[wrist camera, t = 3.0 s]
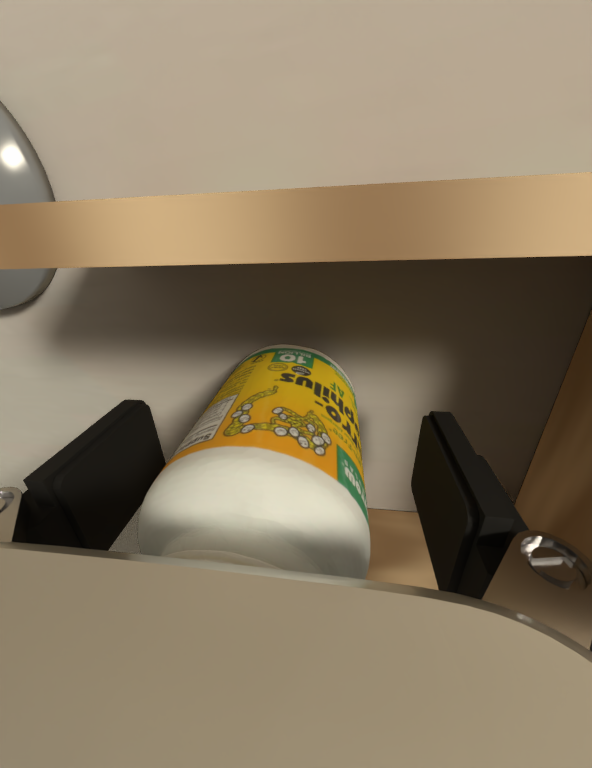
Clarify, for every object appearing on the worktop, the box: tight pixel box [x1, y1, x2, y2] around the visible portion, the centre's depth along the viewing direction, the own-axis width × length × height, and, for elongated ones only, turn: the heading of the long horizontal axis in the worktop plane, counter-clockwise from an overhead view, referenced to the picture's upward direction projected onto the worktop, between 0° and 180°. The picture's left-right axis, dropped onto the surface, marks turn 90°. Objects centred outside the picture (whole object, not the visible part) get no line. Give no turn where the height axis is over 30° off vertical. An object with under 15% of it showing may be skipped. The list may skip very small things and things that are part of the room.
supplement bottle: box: [138, 344, 370, 580], centre depth 9 cm, size 5×5×10 cm
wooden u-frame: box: [0, 172, 592, 590], centre depth 10 cm, size 17×14×6 cm
